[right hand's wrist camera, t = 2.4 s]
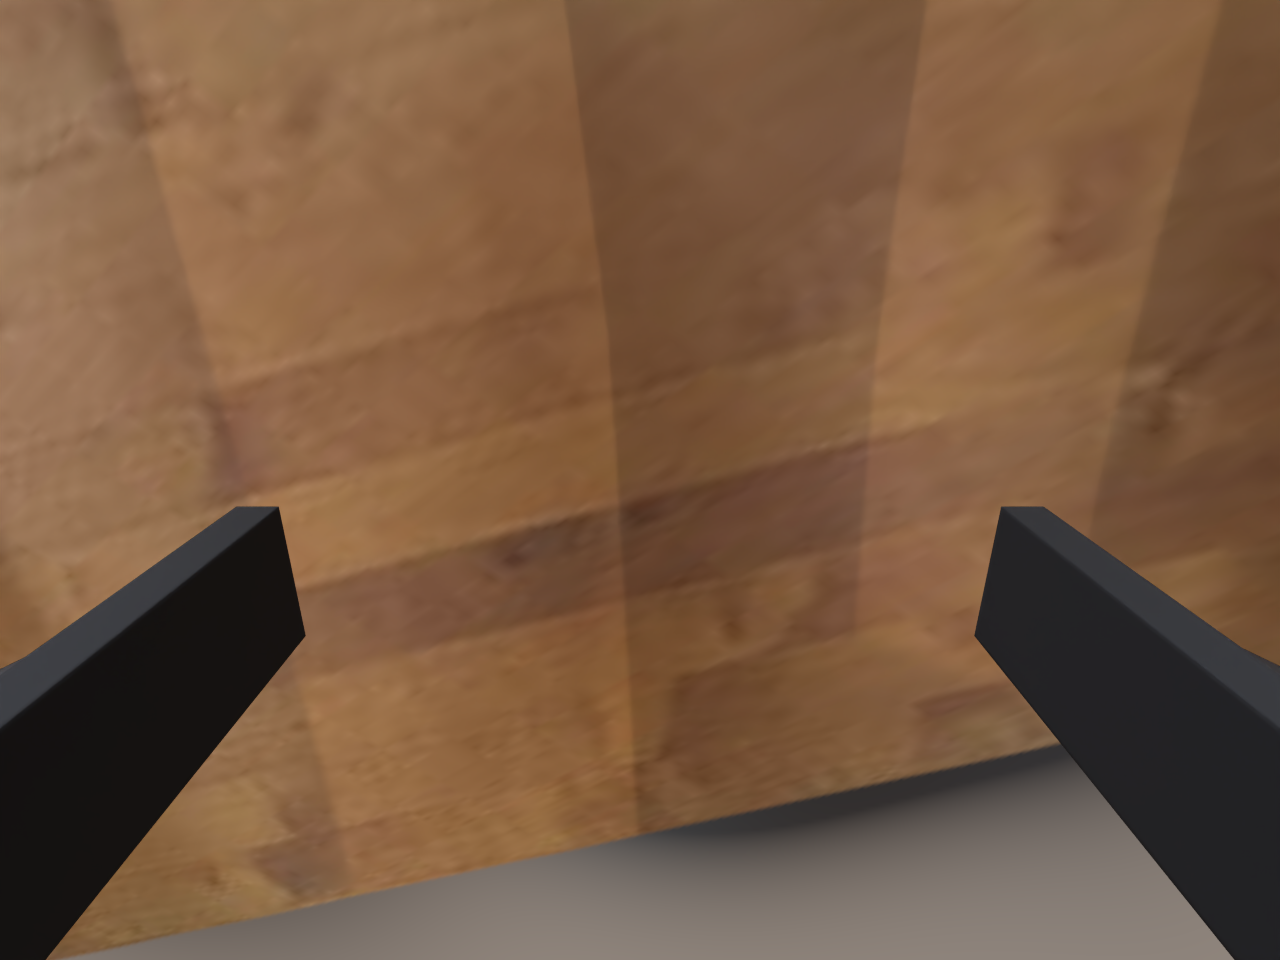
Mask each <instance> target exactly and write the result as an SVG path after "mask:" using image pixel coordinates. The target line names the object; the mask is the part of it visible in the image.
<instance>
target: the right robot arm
mask: <svg viewBox="0 0 1280 960" xmlns="http://www.w3.org/2000/svg"><path fill="white" fill-rule="evenodd" d="M305 636H306V635H305V630H304V626H303V621H302V616H301V611H300V607H299V602H298V597H297V592H296V587H295V583H294V578H293V573H292V568H291V563H290V559H289V554H288V549H287V544H286V539H285V535H284V530H283V525H282V520H281V515H280V511H279V507H235V508H234V509H232V510H231V511H230V512H228V513H227V514H225V515H224V516H223V517H221V518H220V519H218V520H217V521H216V522H214V523H213V524H211V525H210V526H209V527H207V528H206V529H204V530H203V531H202V532H200V533H199V534H197V535H196V536H195V537H193V538H192V539H190V540H189V541H188V542H186V543H185V544H183V545H182V546H181V547H179V548H178V549H176V550H175V551H174V552H172V553H171V554H169V555H168V556H166V557H165V558H164V559H162V560H161V561H159V562H158V563H157V564H155V565H154V566H152V567H151V568H150V569H148V570H147V571H145V572H144V573H143V574H141V575H140V576H138V577H137V578H136V579H134V580H133V581H131V582H130V583H129V584H127V585H126V586H124V587H123V588H122V589H120V590H119V591H117V592H116V593H115V594H113V595H112V596H110V597H109V598H108V599H106V600H105V601H103V602H102V603H101V604H99V605H98V606H96V607H95V608H93V609H92V610H91V611H89V612H88V613H86V614H85V615H84V616H82V617H81V618H79V619H78V620H77V621H75V622H74V623H72V624H71V625H70V626H68V627H67V628H65V629H64V630H63V631H61V632H60V633H58V634H57V635H56V636H54V637H53V638H51V639H50V640H49V641H47V642H46V643H44V644H43V645H42V646H40V647H39V648H37V649H36V650H35V651H33V652H32V653H30V654H29V655H27V656H26V657H24V658H22V659H20V660H18V661H16V662H14V663H12V664H10V665H8V666H6V667H4V668H2V669H0V960H46V958H47V957H48V956H49V955H50V954H51V952H52V951H53V950H54V949H55V947H56V946H57V945H58V944H59V942H60V941H61V940H62V939H63V937H64V936H65V935H66V934H67V932H68V931H69V930H70V929H71V927H72V926H73V925H74V924H75V922H76V921H77V920H78V919H79V917H80V916H81V915H82V914H83V912H84V911H85V910H86V909H87V907H88V906H89V905H90V904H91V902H92V901H93V900H94V899H95V897H96V896H97V895H98V894H99V892H100V891H101V890H102V889H103V887H104V886H105V885H106V884H107V883H108V881H109V880H110V879H111V878H112V876H113V875H114V874H115V873H116V871H117V870H118V869H119V868H120V866H121V865H122V864H123V863H124V861H125V860H126V859H127V858H128V856H129V855H130V854H131V853H132V851H133V850H134V849H135V848H136V846H137V845H138V844H139V843H140V841H141V840H142V839H143V838H144V836H145V835H146V834H147V833H148V831H149V830H150V829H151V828H152V826H153V825H154V824H155V823H156V821H157V820H158V819H159V818H160V816H161V815H162V814H163V813H164V812H165V810H166V809H167V808H168V807H169V805H170V804H171V803H172V802H173V800H174V799H175V798H176V797H177V795H178V794H179V793H180V792H181V790H182V789H183V788H184V787H185V785H186V784H187V783H188V782H189V780H190V779H191V778H192V777H193V775H194V774H195V773H196V772H197V770H198V769H199V768H200V767H201V765H202V764H203V763H204V762H205V760H206V759H207V758H208V757H209V755H210V754H211V753H212V752H213V750H214V749H215V748H216V747H217V745H218V744H219V743H220V742H221V741H222V739H223V738H224V737H225V736H226V734H227V733H228V732H229V731H230V729H231V728H232V727H233V726H234V724H235V723H236V722H237V721H238V719H239V718H240V717H241V716H242V714H243V713H244V712H245V711H246V709H247V708H248V707H249V706H250V704H251V703H252V702H253V701H254V699H255V698H256V697H257V696H258V694H259V693H260V692H261V691H262V689H263V688H264V687H265V686H266V684H267V683H268V682H269V681H270V679H271V678H272V677H273V676H274V675H275V673H276V672H277V671H278V670H279V668H280V667H281V666H282V665H283V663H284V662H285V661H286V660H287V658H288V657H289V656H290V655H291V653H292V652H293V651H294V650H295V648H296V647H297V646H298V645H299V643H300V642H301V641H302V640H303V638H304V637H305ZM974 636H975V637H976V638H977V640H978V641H979V642H980V643H981V645H982V646H983V647H984V648H985V650H986V651H987V652H988V653H989V655H990V656H991V657H992V658H993V660H994V661H995V662H996V663H997V665H998V666H999V667H1000V668H1001V670H1002V671H1003V672H1004V673H1005V675H1006V676H1007V677H1008V678H1009V679H1010V681H1011V682H1012V683H1013V684H1014V686H1015V687H1016V688H1017V689H1018V691H1019V692H1020V693H1021V694H1022V696H1023V697H1024V698H1025V699H1026V701H1027V702H1028V703H1029V704H1030V706H1031V707H1032V708H1033V709H1034V711H1035V712H1036V713H1037V714H1038V716H1039V717H1040V718H1041V719H1042V721H1043V722H1044V723H1045V724H1046V726H1047V727H1048V728H1049V729H1050V731H1051V732H1052V733H1053V734H1054V736H1055V737H1056V738H1057V739H1058V741H1059V742H1060V743H1061V744H1062V746H1063V747H1064V748H1065V749H1066V750H1067V752H1068V753H1069V754H1070V755H1071V757H1072V758H1073V759H1074V760H1075V762H1076V763H1077V764H1078V765H1079V767H1080V768H1081V769H1082V770H1083V772H1084V773H1085V774H1086V775H1087V777H1088V778H1089V779H1090V780H1091V782H1092V783H1093V784H1094V785H1095V787H1096V788H1097V789H1098V790H1099V792H1100V793H1101V794H1102V795H1103V797H1104V798H1105V799H1106V800H1107V802H1108V803H1109V804H1110V805H1111V807H1112V808H1113V809H1114V810H1115V812H1116V813H1117V814H1118V815H1119V816H1120V818H1121V819H1122V820H1123V821H1124V823H1125V824H1126V825H1127V826H1128V828H1129V829H1130V830H1131V831H1132V833H1133V834H1134V835H1135V836H1136V838H1137V839H1138V840H1139V841H1140V843H1141V844H1142V845H1143V846H1144V848H1145V849H1146V850H1147V851H1148V853H1149V854H1150V855H1151V856H1152V858H1153V859H1154V860H1155V861H1156V863H1157V864H1158V865H1159V866H1160V868H1161V869H1162V870H1163V871H1164V872H1165V874H1166V875H1167V876H1168V878H1169V879H1170V880H1171V881H1172V883H1173V884H1174V885H1175V886H1176V887H1177V889H1178V890H1179V891H1180V892H1181V894H1182V895H1183V896H1184V897H1185V899H1186V900H1187V901H1188V902H1189V904H1190V905H1191V906H1192V907H1193V909H1194V910H1195V911H1196V912H1197V914H1198V915H1199V916H1200V917H1201V919H1202V920H1203V921H1204V922H1205V924H1206V925H1207V926H1208V927H1209V929H1210V930H1211V931H1212V932H1213V934H1214V935H1215V936H1216V937H1217V939H1218V940H1219V941H1220V942H1221V944H1222V945H1223V946H1224V947H1225V948H1226V950H1227V951H1228V952H1229V954H1230V955H1231V956H1232V957H1233V958H1234V960H1280V666H1278V665H1276V664H1274V663H1272V662H1270V661H1268V660H1266V659H1264V658H1262V657H1260V656H1258V655H1256V654H1254V653H1251V652H1249V651H1247V650H1245V649H1243V648H1241V647H1240V646H1238V645H1237V644H1236V643H1234V642H1233V641H1231V640H1230V639H1229V638H1227V637H1226V636H1224V635H1223V634H1222V633H1220V632H1219V631H1217V630H1216V629H1215V628H1213V627H1212V626H1210V625H1209V624H1208V623H1206V622H1205V621H1203V620H1202V619H1201V618H1199V617H1198V616H1196V615H1195V614H1194V613H1192V612H1191V611H1189V610H1188V609H1187V608H1185V607H1184V606H1182V605H1181V604H1179V603H1178V602H1177V601H1175V600H1174V599H1172V598H1171V597H1170V596H1168V595H1167V594H1165V593H1164V592H1163V591H1161V590H1160V589H1158V588H1157V587H1156V586H1154V585H1153V584H1151V583H1150V582H1149V581H1147V580H1146V579H1144V578H1143V577H1142V576H1140V575H1139V574H1137V573H1136V572H1135V571H1133V570H1132V569H1130V568H1129V567H1128V566H1126V565H1125V564H1123V563H1122V562H1121V561H1119V560H1118V559H1116V558H1115V557H1114V556H1112V555H1111V554H1109V553H1108V552H1106V551H1105V550H1104V549H1102V548H1101V547H1099V546H1098V545H1097V544H1095V543H1094V542H1092V541H1091V540H1090V539H1088V538H1087V537H1085V536H1084V535H1083V534H1081V533H1080V532H1078V531H1077V530H1076V529H1074V528H1073V527H1071V526H1070V525H1069V524H1067V523H1066V522H1064V521H1063V520H1062V519H1060V518H1059V517H1057V516H1056V515H1055V514H1053V513H1052V512H1050V511H1049V510H1048V509H1046V508H1045V507H1001V511H1000V515H999V520H998V525H997V530H996V535H995V539H994V544H993V549H992V554H991V559H990V563H989V568H988V573H987V578H986V583H985V587H984V592H983V597H982V602H981V606H980V611H979V616H978V621H977V626H976V630H975V635H974Z"/></svg>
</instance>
